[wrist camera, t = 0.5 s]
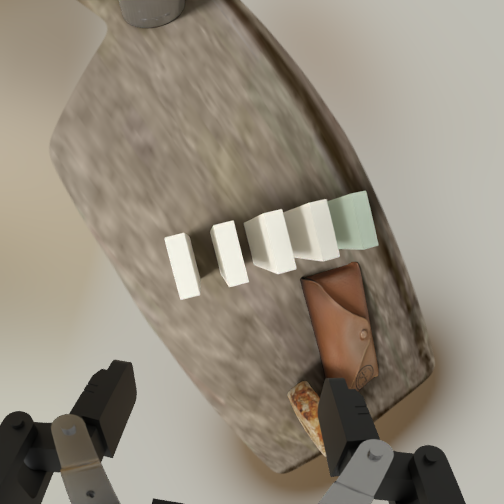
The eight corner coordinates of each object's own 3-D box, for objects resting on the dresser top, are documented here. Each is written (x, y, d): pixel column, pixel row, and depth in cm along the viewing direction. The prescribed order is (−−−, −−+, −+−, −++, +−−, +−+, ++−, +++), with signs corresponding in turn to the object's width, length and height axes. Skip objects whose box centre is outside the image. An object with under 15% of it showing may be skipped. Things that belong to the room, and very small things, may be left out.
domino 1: (187, 282, 37) (180, 299, 25) (176, 239, 36) (164, 237, 25) (200, 278, 37) (200, 294, 25) (189, 236, 37) (184, 232, 25)
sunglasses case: (382, 376, 41) (382, 402, 35) (336, 384, 44) (329, 410, 38) (357, 256, 40) (354, 267, 34) (306, 269, 43) (294, 282, 36)
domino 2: (220, 273, 37) (229, 287, 25) (209, 231, 37) (213, 225, 25) (233, 270, 38) (248, 282, 26) (223, 227, 37) (233, 220, 25)
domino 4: (286, 256, 38) (323, 261, 27) (276, 215, 38) (309, 202, 26) (298, 252, 39) (339, 256, 27) (288, 212, 38) (326, 198, 26)
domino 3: (253, 264, 38) (278, 274, 26) (243, 223, 38) (263, 213, 26) (266, 261, 38) (296, 268, 26) (256, 219, 38) (281, 208, 26)
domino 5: (316, 247, 39) (363, 249, 27) (307, 207, 39) (350, 193, 27) (328, 244, 39) (378, 245, 27) (319, 205, 39) (365, 190, 27)
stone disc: (276, 381, 39) (297, 420, 29) (301, 367, 39) (329, 401, 29) (307, 434, 40) (332, 475, 30) (330, 421, 40) (359, 459, 30)
